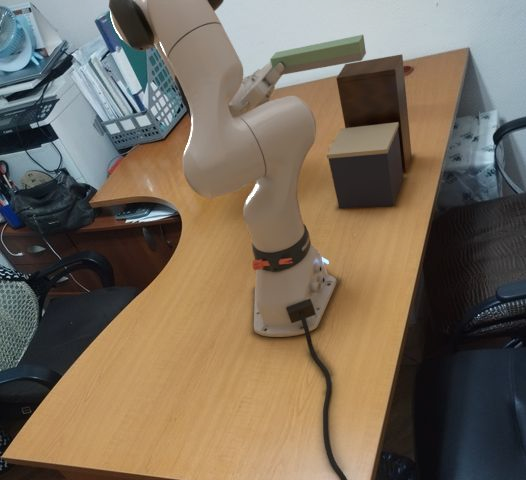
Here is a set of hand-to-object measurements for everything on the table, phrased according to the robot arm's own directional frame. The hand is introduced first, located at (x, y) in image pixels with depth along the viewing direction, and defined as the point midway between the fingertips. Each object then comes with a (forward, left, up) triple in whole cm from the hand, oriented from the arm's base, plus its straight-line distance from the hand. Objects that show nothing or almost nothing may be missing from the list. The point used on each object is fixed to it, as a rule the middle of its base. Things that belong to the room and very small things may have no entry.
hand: (286, 59), depth 123 cm
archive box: (-13, -17, -32) cm, 38 cm away
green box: (-1, -8, -2) cm, 8 cm away
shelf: (0, -19, -32) cm, 37 cm away
